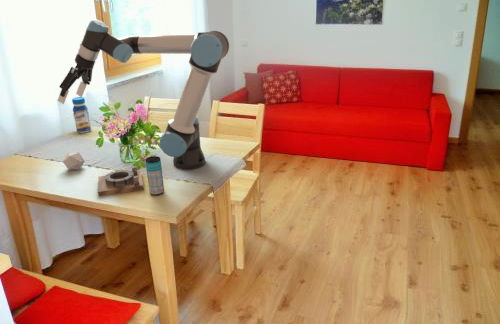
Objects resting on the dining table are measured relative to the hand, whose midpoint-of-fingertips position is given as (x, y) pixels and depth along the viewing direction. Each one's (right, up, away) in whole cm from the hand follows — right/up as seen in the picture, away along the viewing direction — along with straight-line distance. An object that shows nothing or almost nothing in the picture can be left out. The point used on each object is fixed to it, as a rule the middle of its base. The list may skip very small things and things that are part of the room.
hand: (70, 98), depth 180 cm
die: (-4, -31, +15) cm, 35 cm away
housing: (+23, -37, -2) cm, 44 cm away
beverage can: (+40, -40, -10) cm, 58 cm away
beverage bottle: (-21, -9, +68) cm, 72 cm away
